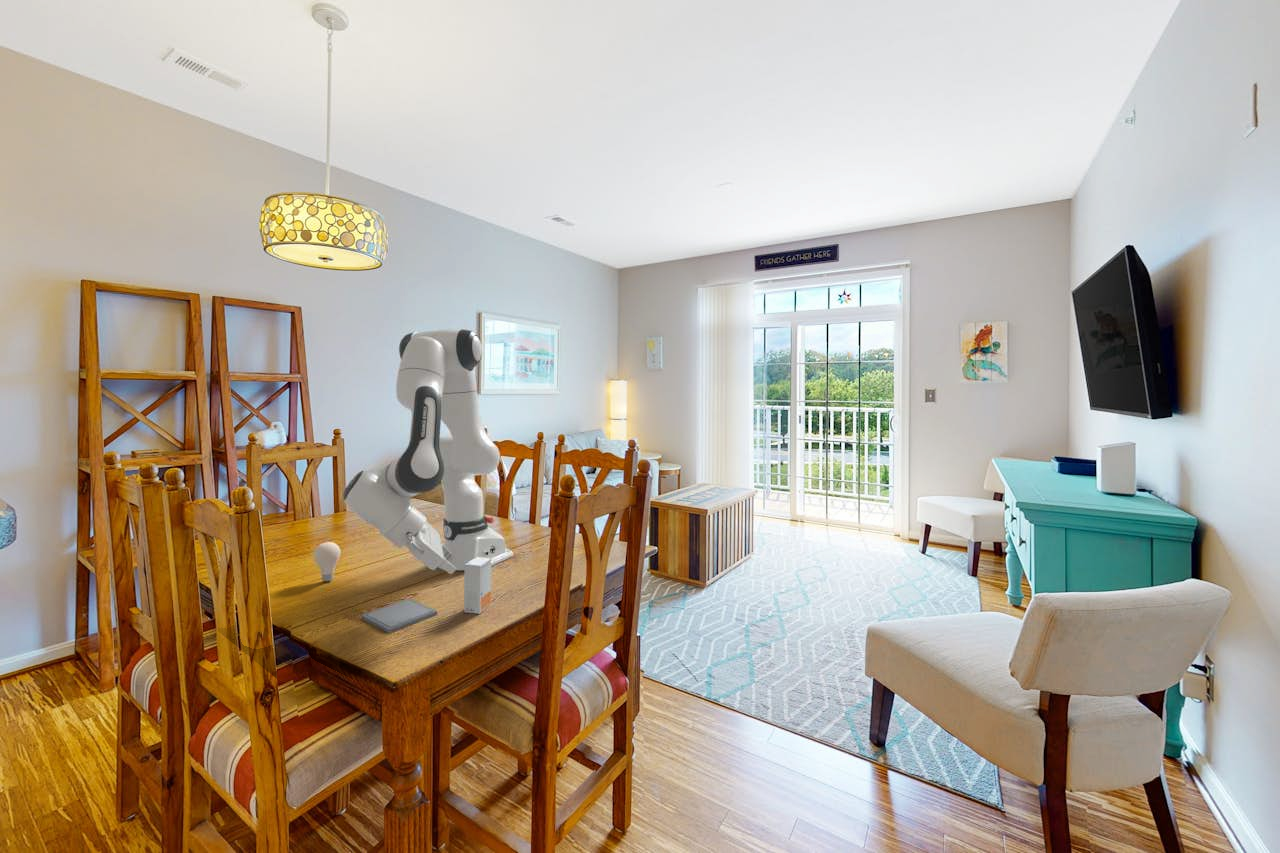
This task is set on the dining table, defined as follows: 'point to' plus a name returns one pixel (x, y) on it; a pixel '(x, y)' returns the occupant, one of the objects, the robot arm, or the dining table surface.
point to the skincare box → (477, 585)
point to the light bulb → (327, 559)
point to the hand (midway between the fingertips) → (452, 564)
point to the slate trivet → (398, 615)
